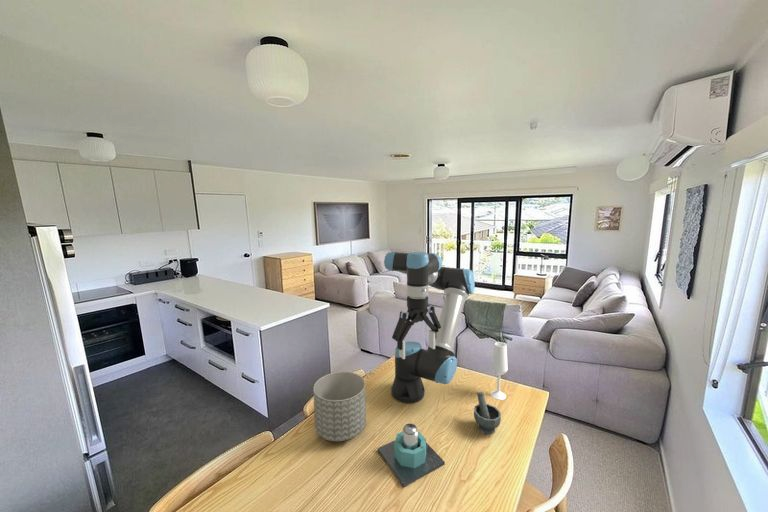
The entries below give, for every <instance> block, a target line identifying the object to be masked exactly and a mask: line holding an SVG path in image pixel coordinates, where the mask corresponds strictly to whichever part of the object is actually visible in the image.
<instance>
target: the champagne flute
mask: <svg viewBox="0 0 768 512" xmlns="http://www.w3.org/2000/svg"><path fill="white" fill-rule="evenodd" d="M507 345H508V344H506V343H505V342H502V341H496V342H495V343H494V348H493V354H492V361H491V370H492V371H493V372H494V373H495V374H496V375H497V380H496V382H497V386H496V390H492V391H490V396H491V398H493V399H495V400H499V401H500V400H501V401H503V400H506V398H507V394H505V393H504V392H502V391H501V376H503V375H505V374H506V373H507V371H508V368H509V367H508V349H507V347H508V346H507Z"/></svg>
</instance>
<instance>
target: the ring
mask: <svg viewBox="0 0 768 512" xmlns="http://www.w3.org/2000/svg"><path fill="white" fill-rule="evenodd" d="M394 440H395V442H394V457H395V458H396V459H397V461H398V462H399V463H400V465H401V466H405V467H410V468H416V467H418V466H420V465H421V464H423V463H425V457H426V443H427V438H425V437H424V435H422V433H420V431H418V448H416V449H414V450H410V449H405V448H403V430H401V432H398V433H396V435H395V439H394Z"/></svg>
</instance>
